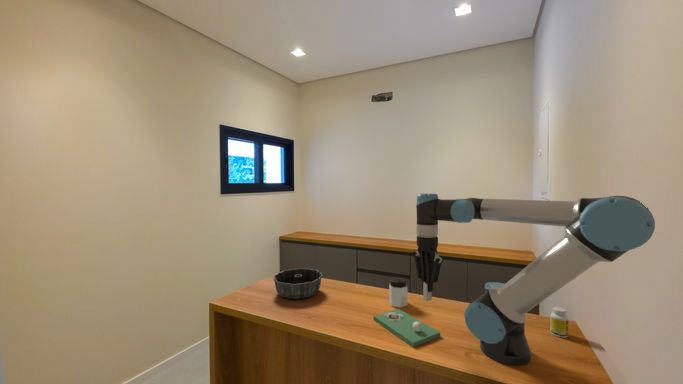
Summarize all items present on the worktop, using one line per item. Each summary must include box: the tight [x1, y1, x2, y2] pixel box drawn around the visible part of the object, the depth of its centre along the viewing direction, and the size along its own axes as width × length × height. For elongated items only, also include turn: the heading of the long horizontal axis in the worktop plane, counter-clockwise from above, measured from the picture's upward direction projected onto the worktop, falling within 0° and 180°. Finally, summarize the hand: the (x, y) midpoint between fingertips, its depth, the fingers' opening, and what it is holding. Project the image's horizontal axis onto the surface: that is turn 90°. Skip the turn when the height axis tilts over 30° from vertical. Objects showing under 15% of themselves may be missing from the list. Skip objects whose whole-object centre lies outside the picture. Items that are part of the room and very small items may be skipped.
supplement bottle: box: [549, 306, 569, 339], centre depth 106 cm, size 5×5×10 cm
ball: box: [413, 322, 422, 332], centre depth 107 cm, size 4×4×4 cm
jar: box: [388, 276, 409, 309], centre depth 136 cm, size 9×8×12 cm
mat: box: [373, 308, 441, 348], centre depth 113 cm, size 24×14×2 cm, turn 29°
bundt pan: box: [273, 267, 323, 300], centre depth 152 cm, size 26×26×10 cm
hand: (427, 299), depth 102 cm, fingers closed
